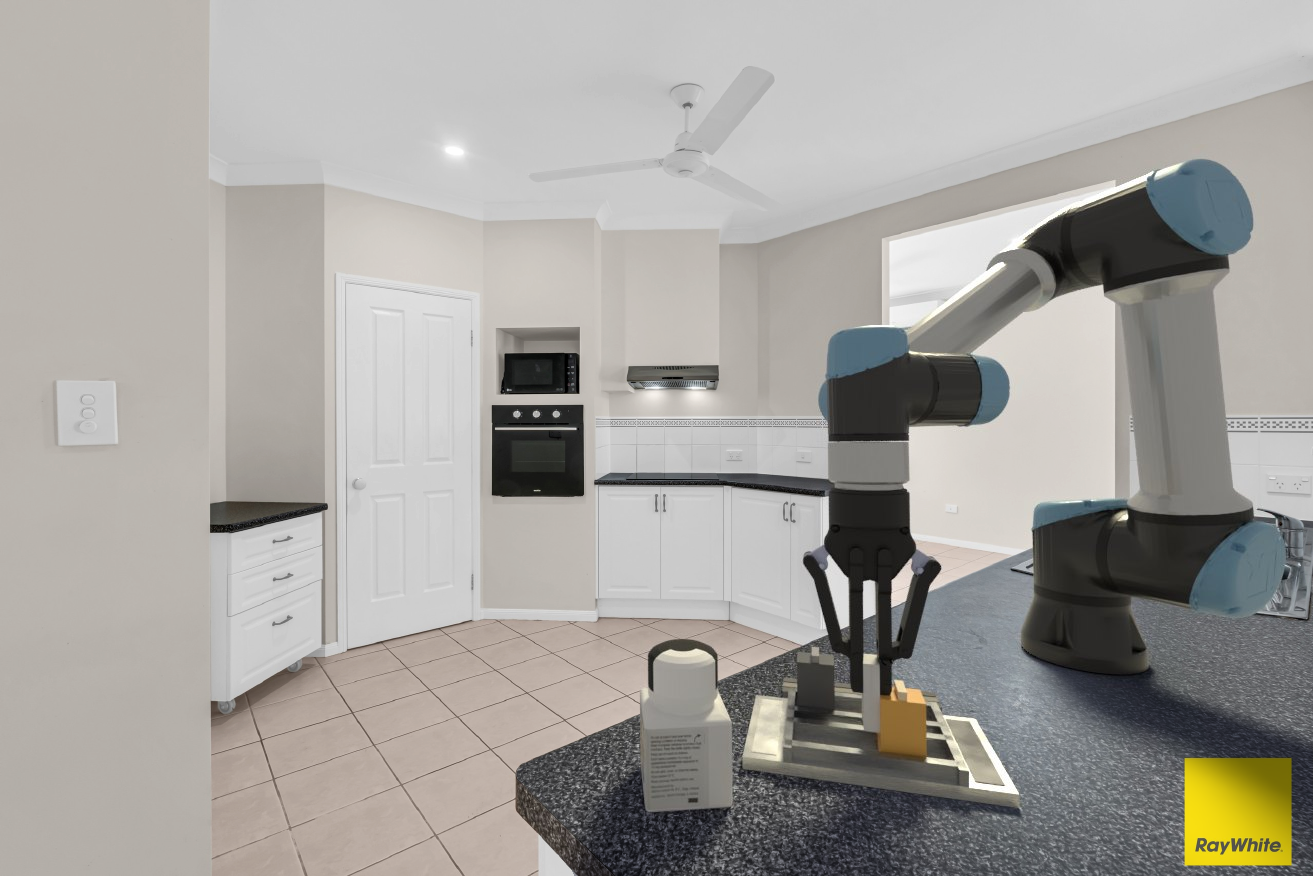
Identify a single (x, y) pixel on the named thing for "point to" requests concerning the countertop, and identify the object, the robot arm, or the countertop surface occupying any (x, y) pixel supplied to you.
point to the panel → (874, 751)
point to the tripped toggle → (903, 722)
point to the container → (684, 730)
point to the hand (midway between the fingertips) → (871, 725)
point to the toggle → (815, 680)
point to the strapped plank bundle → (849, 690)
